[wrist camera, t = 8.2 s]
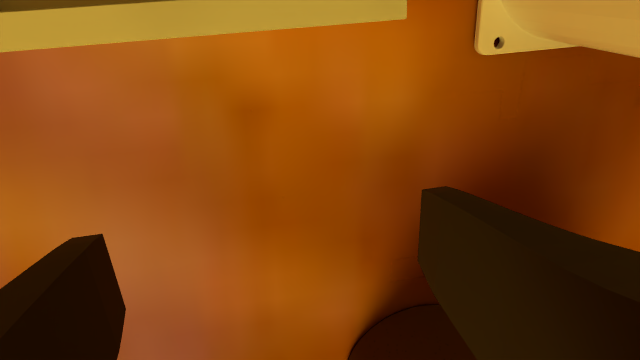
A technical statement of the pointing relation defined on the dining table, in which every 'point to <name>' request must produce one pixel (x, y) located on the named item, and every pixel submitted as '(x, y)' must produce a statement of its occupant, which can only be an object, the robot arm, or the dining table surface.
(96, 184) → the dining table surface
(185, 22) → the cream square frame
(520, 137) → the dining table surface
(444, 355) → the olive oil
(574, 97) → the dining table surface
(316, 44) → the dining table surface
